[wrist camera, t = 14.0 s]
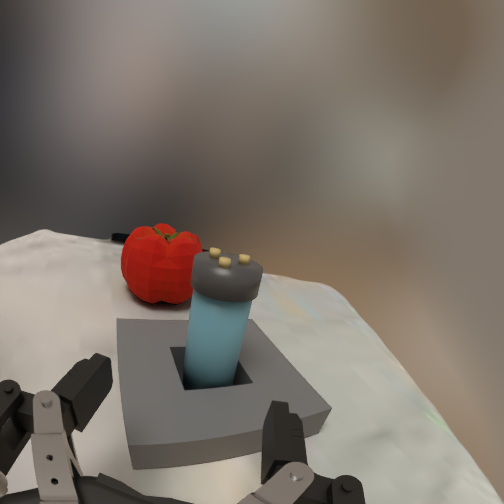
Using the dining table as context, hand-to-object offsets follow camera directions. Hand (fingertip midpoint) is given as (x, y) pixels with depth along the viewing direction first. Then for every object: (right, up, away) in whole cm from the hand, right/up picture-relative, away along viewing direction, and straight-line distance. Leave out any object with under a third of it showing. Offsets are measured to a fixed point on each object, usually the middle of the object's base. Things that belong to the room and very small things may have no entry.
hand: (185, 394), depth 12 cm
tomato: (-11, 0, +31) cm, 33 cm away
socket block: (-1, -7, +12) cm, 14 cm away
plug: (-1, -6, +12) cm, 14 cm away
